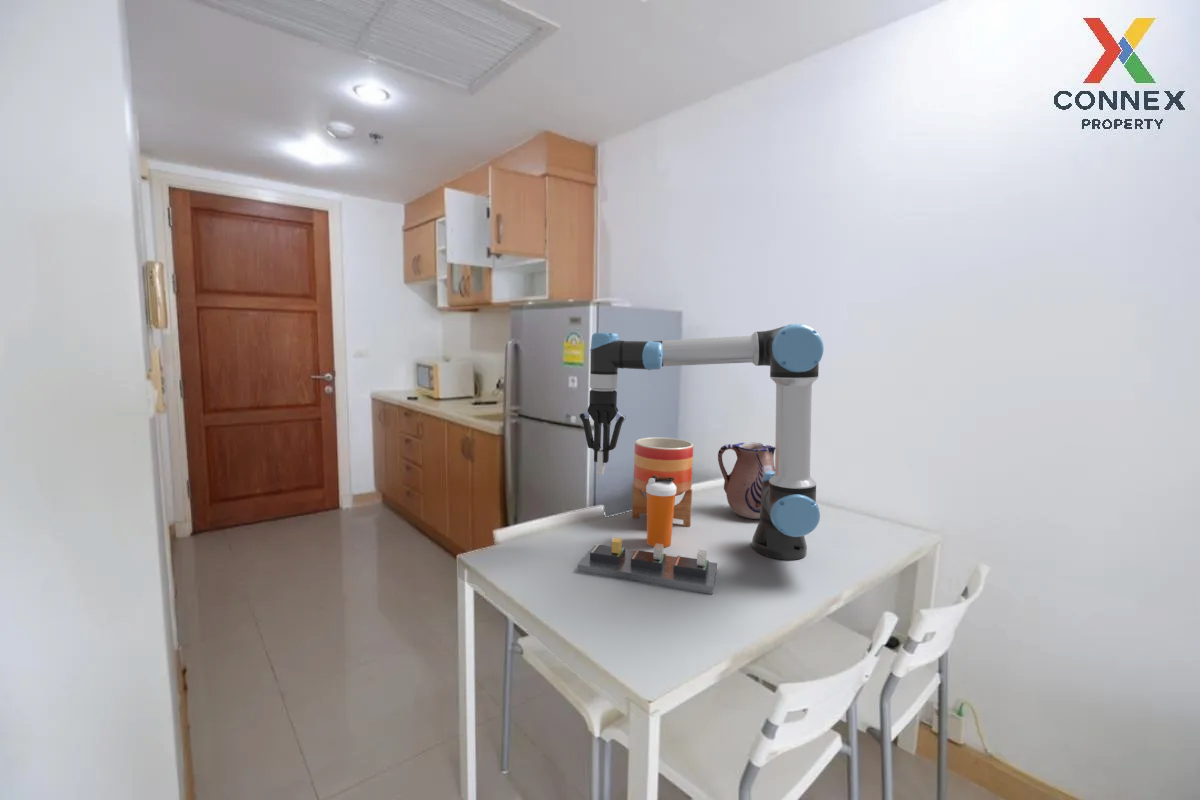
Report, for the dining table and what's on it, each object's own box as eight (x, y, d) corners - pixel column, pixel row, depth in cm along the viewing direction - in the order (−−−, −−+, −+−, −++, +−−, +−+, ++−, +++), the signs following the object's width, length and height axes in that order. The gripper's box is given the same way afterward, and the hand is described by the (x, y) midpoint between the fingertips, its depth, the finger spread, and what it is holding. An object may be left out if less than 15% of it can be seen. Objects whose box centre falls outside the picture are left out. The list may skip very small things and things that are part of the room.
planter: (622, 526, 167) (625, 444, 164) (641, 508, 185) (644, 435, 182) (682, 536, 159) (686, 451, 156) (696, 517, 178) (700, 440, 175)
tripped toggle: (621, 549, 137) (622, 538, 137) (618, 553, 134) (619, 542, 134) (614, 548, 138) (614, 537, 138) (611, 552, 135) (611, 541, 135)
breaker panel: (717, 570, 136) (718, 544, 135) (712, 594, 122) (713, 565, 122) (594, 551, 146) (594, 527, 145) (577, 572, 132) (578, 545, 132)
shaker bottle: (673, 550, 148) (676, 482, 146) (642, 547, 150) (644, 480, 148) (674, 539, 157) (677, 474, 155) (645, 536, 159) (648, 472, 156)
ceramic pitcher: (784, 524, 173) (789, 451, 170) (721, 522, 173) (725, 449, 170) (768, 508, 190) (772, 441, 187) (711, 506, 190) (714, 439, 188)
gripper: (629, 389, 143) (626, 473, 146) (585, 387, 147) (583, 468, 149) (622, 391, 136) (619, 479, 138) (576, 389, 140) (574, 474, 142)
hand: (600, 473), depth 144 cm, fingers closed
